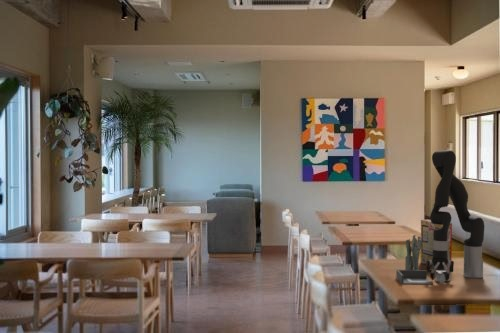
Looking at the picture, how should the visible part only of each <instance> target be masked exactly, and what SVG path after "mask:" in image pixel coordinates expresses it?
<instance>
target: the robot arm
mask: <svg viewBox="0 0 500 333" xmlns="http://www.w3.org/2000/svg"><path fill="white" fill-rule="evenodd" d="M431 156H432V157H431V161H432V164H433V165H434V168H435V170H436V172H437V173H438V175H439V176H440V178H441V179H440V181H439V183H438V185H436V189H435V192H434V193H435V194H434V203H433V207H432V210H431V213H430V216H429V220H431V222H432V223H433V224H440V225H443V227H442V228H440V229H435V230H434V232H433V258H432V260H426V264H425V265H426V271H427V273H430V274H429V275H430V276H429V277H430V279H431V280H432V281H434V280H435V272H436V271H437V269H441V268H444V269H443V270H444V271H446V280H448V279H449V273H450V274H451V273H453V272H454V266H455V265H454V264H455V262H454V260H452V259H451V260H450V261H449V260H448V243H447V234H448V229H449V225H450V223H451V222H452V215H451V213H450V212H448V211H440V209H441V208H446V207H447V208H448V206H449V203H450V200H451V203H452V204H453V206H454V209H455V212H456V214H457V218H458V221H459V224H460V227H461V229H462V230H463V231H464V232H466V233H470V237H469V238H466V239H464V241H463V276H464V277H465V278H469V279H481V278H482V279H483V278H484V260H483V242H484V238H485V221H484V220H483V218H481V217H479V216H473V215H471V214H470V212H469V209H468V201H469V193H468V191H467V189H466V187H465V184H464V183H463V182H462V180H460V178H458V177H457V176H456V174H455V175H454V173H455V172H454V171H455V168H456V162H457V161H456V160H457V157H456V154H455V152H454V151H453V150H450V149H449V150H448V149H447V150H436V151H434V152H433V153H432V155H431ZM431 262H432V263H433V264H434V265H433V266H430V264H431ZM448 263H449V264H450V269H448V268H447V266H446V265H447V264H448Z"/></svg>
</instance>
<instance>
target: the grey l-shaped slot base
mask: <svg viewBox="0 0 500 333" xmlns="http://www.w3.org/2000/svg"><path fill="white" fill-rule="evenodd" d="M395 274H396V275H395V278H396V281H397V280H398V282H399V284H401V285H419V284H420V285H422V286H423V285H428V286H429V285H433V282H432V281H430V280H429V279H428V278H427V275H428V271H427V269H426V270H424V269H422V270H421V269H418V270H414V269H413V270H405V269H396V270H395Z"/></svg>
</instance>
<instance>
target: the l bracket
mask: <svg viewBox="0 0 500 333" xmlns="http://www.w3.org/2000/svg"><path fill="white" fill-rule="evenodd" d="M435 281H436V282H438V283H439V284H440V285H445V282H451V273H449V279H448V280H446V271H445V270H435Z"/></svg>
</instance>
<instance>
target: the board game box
mask: <svg viewBox="0 0 500 333" xmlns="http://www.w3.org/2000/svg"><path fill="white" fill-rule="evenodd" d="M442 227H443V225H440V224H433V223H432V222H431V220H430V219H421V220H420V237H421V240H422V243H421V250H420V264H423V265H426V260H432V258H433V232H434V230H435V229H440V228H442ZM452 227H453V224H452V223H451V222H450V225H449V229H448V234H447V243H448V260H449V261H450V260H452V251H453V250H452V249H453V248H452V244H453V243H452V242H453V240H452V238H453V237H452V235H453V231H452V230H453V229H452ZM433 265H434V264H433V263H432V262H431V264H430V267H432V266H433ZM446 266H447V268H448V270H449V269H450V264H449V263H448V264H447V265H446ZM440 270H445V269H444V268H440Z"/></svg>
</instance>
